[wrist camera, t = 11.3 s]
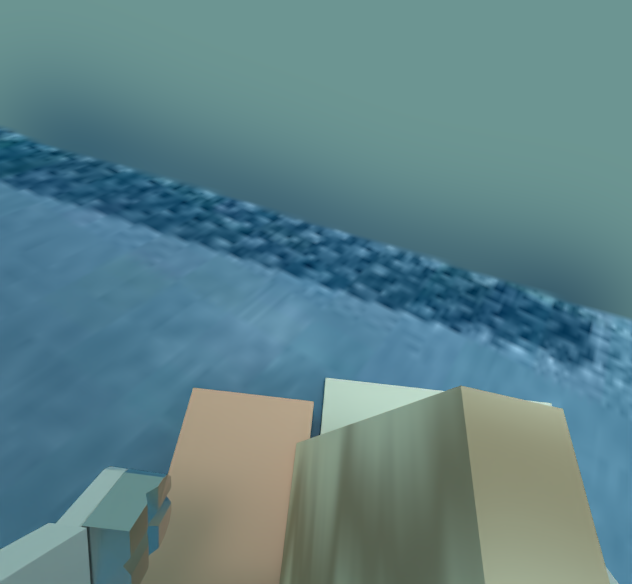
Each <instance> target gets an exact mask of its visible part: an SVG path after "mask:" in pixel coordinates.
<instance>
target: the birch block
mask: <svg viewBox="0 0 632 584" xmlns="http://www.w3.org/2000/svg"><path fill="white" fill-rule="evenodd" d="M279 584H610V581H609V577H608V574H607V570H606V566H605V563H604V559H603V555H602V552H601V548H600V544H599V541H598V537H597V533H596V530H595V526H594V522H593V518H592V515H591V511H590V507H589V504H588V500H587V496H586V493H585V489H584V485H583V482H582V478H581V474H580V471H579V467H578V463H577V459H576V456H575V452H574V448H573V445H572V441H571V437H570V434H569V430H568V426H567V423H566V419H565V415H564V412H563V409H561V408H556V407H552V406H548V405H543V404H539V403H535V402H530V401H526V400H521V399H517V398H513V397H508V396H504V395H499V394H495V393H491V392H486V391H482V390H478V389H473V388H469V387H464V386H459V387H456V388H453V389H450V390H447V391H444V392H441V393H439V394H436V395H433V396H430V397H427V398H424V399H421V400H418V401H416V402H413V403H410V404H407V405H404V406H401V407H398V408H396V409H393V410H390V411H387V412H384V413H381V414H378V415H376V416H373V417H370V418H367V419H364V420H361V421H358V422H356V423H353V424H350V425H347V426H344V427H341V428H338V429H336V430H333V431H330V432H327V433H324V434H321V435H318V436H316V437H313V438H310V439H307V440H304V441H301V442H298V443H296V451H295V460H294V468H293V476H292V484H291V492H290V500H289V509H288V517H287V525H286V533H285V541H284V549H283V558H282V566H281V574H280V582H279Z"/></svg>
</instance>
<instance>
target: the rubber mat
mask: <svg viewBox="0 0 632 584" xmlns="http://www.w3.org/2000/svg"><path fill="white" fill-rule="evenodd" d="M441 392H444V391H438V390H430V389H421V388H412V387H403V386H394V385H385V384H377V383H368V382H359V381H350V380H341V379H333V378H326V379H325V389H324V400H323V411H322V422H321V433H320V435H321V434H324V433H327V432H330V431H333V430H336V429H338V428H341V427H344V426H347V425H350V424H353V423H356V422H358V421H361V420H364V419H367V418H370V417H373V416H376V415H378V414H381V413H384V412H387V411H390V410H393V409H396V408H398V407H401V406H404V405H407V404H410V403H413V402H416V401H418V400H421V399H424V398H427V397H430V396H433V395H436V394H439V393H441ZM530 402H535V401H530ZM535 403H539V404H543V405H548V406H552V405H551V403H544V402H535Z"/></svg>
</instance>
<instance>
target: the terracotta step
mask: <svg viewBox="0 0 632 584" xmlns="http://www.w3.org/2000/svg"><path fill="white" fill-rule="evenodd" d="M313 405H314V402H313V401H305V400H296V399H287V398H279V397H270V396H261V395H253V394H244V393H235V392H226V391H218V390H209V389H200V388H193V390H192V394H191V397H190V401H189V404H188V407H187V411H186V414H185V418H184V421H183V424H182V428H181V431H180V435H179V438H178V442H177V445H176V448H175V452H174V455H173V459H172V462H171V465H170V469H169V472H168V475H170V476H171V489H170V491H169V493H168V494H167V497H168V499H169V500H170V501H171V516H170V522H169V525H168V528H167V531H166V534H165V536H164V538H163V540H162V542H161V544H160V546H159V548H158V549H157V550H155V551H154V552H153V553H151V554H150V555H149V568H148V570H147V572H146V574H145V576H144V578H143V580H142V581H141V583H140V584H279V582H280V574H281V566H282V558H283V549H284V541H285V533H286V525H287V517H288V509H289V500H290V492H291V484H292V476H293V468H294V460H295V451H296V443H298V442H301V441H304V440H307V439H310V434H311V425H312V415H313Z"/></svg>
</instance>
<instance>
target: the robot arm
mask: <svg viewBox="0 0 632 584" xmlns="http://www.w3.org/2000/svg"><path fill="white" fill-rule="evenodd" d="M170 489H171V476H170V475H168V474H162V473H156V472H149V471H142V470H135V469H125V468H119V467H112V466H110V467H108V468H106V469H104V470H103V471H102V472H101V473H100V474H99V475H98V476H97V478H96V479H95V480H94V481H93V482H92V483H91V484H90V485H89V487H88V488H87V489H86V490H85V491H84V492H83V493H82V494H81V495H80V497H79V498H78V499H77V500H76V501H75V502H74V503H73V504H72V506H71V507H70V508H69V509H68V510H67V511H66V512H65V513H64V515H63V516H62V517H61V518H60V519H59V520H58V521H57V522H56V524H54V523H48V524H46V525H44V526H42V527H41V528H39V529H37V530H35V531H33V532H31V533H29V534H28V535H26V536H24V537H22V538H20V539H18V540H17V541H15V542H13V543H11V544H9V545H7V546H6V547H4V548H2V549H0V584H140V583H141V581H142V580H143V578H144V576H145V574H146V572H147V570H148V568H149V555H150V554H151V553H153V552H154V551H155V550H157V549H158V548H159V546H160V544H161V542H162V540H163V538H164V536H165V534H166V531H167V528H168V525H169V522H170V516H171V501H170V500H169V499H168V497H167V494H168V493H169V491H170ZM606 570H607V574H608V577H609V581H610V584H619V583H618V582H617V581H616V580H615V578H614V577H613V576H612V574H611V573H610V572H609V571H608V569H607V568H606Z"/></svg>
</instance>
